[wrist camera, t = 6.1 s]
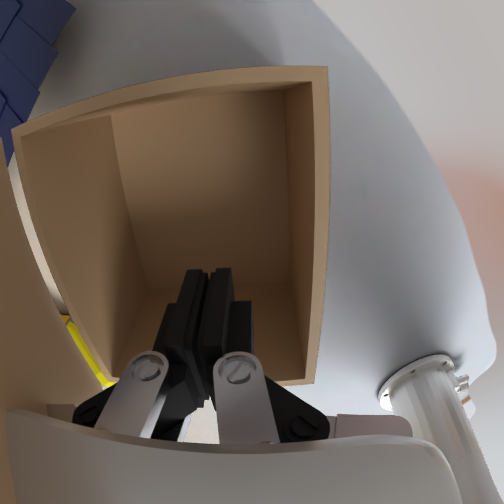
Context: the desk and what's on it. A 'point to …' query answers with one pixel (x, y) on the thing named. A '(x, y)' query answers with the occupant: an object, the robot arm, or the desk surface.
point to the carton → (187, 206)
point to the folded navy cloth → (26, 57)
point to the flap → (31, 335)
